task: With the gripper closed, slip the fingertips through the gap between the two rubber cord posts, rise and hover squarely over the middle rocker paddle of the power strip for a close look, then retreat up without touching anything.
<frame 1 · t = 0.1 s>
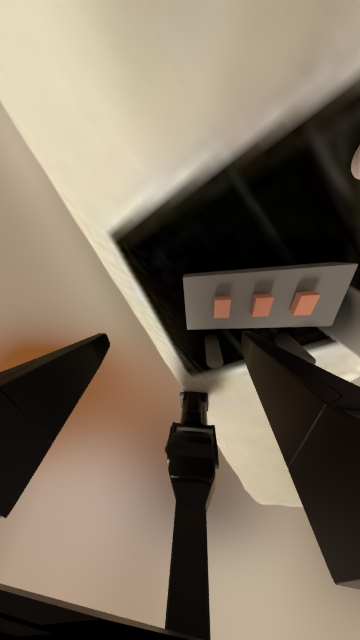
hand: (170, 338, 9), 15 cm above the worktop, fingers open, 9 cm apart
cord post 1: (281, 338, 24), on the worktop
power strip: (251, 295, 22), on the worktop
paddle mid: (261, 305, 18), point 4 cm above the worktop, hinge at -10.0°
cord post 2: (211, 339, 26), on the worktop
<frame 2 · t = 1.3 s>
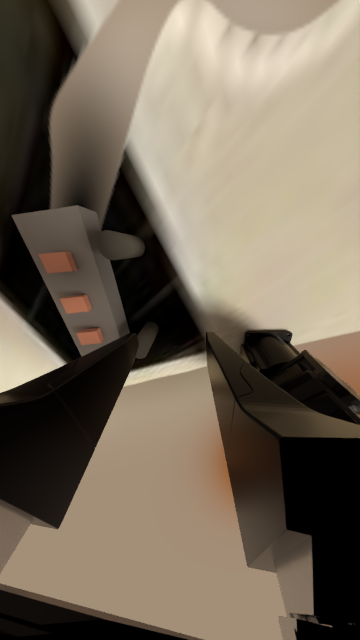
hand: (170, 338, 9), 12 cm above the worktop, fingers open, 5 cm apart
cord post 1: (135, 246, 18), on the worktop
power strip: (95, 295, 22), on the worktop
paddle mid: (76, 303, 18), point 4 cm above the worktop, hinge at -10.0°
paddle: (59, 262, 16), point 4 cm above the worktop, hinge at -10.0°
cord post 2: (151, 328, 23), on the worktop
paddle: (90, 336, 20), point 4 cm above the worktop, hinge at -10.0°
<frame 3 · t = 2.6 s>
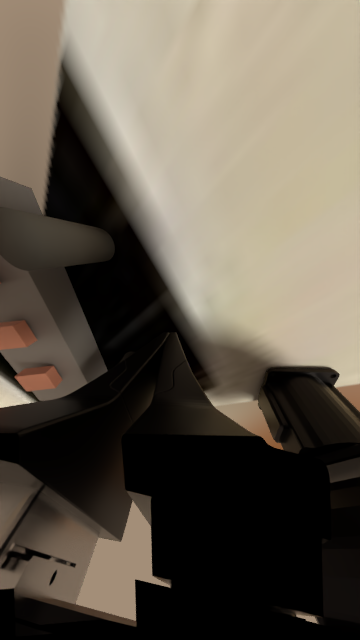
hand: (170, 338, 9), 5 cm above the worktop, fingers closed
cord post 1: (100, 245, 11), on the worktop
power strip: (50, 315, 15), on the worktop
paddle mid: (8, 335, 12), point 4 cm above the worktop, hinge at -10.0°
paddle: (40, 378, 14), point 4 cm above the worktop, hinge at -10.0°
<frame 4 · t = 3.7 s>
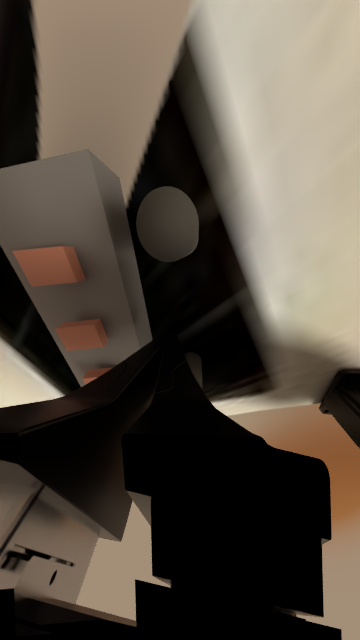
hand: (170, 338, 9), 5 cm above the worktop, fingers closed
cord post 1: (182, 238, 11), on the worktop
power strip: (109, 314, 14), on the worktop
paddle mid: (83, 334, 11), point 4 cm above the worktop, hinge at -10.0°
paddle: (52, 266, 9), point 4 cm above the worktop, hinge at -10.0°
cord post 2: (190, 360, 16), on the worktop
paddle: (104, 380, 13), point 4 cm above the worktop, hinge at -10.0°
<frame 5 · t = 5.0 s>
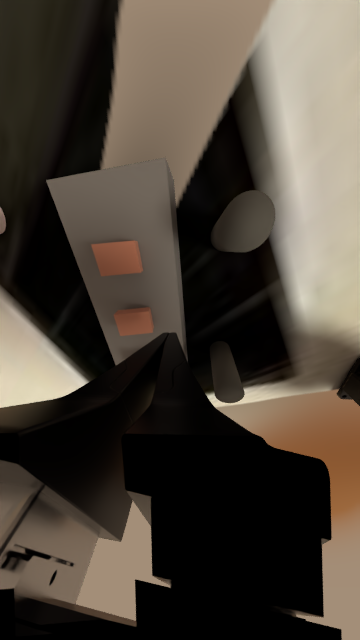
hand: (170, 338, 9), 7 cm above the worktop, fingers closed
cord post 1: (224, 235, 12), on the worktop
power strip: (147, 305, 16), on the worktop
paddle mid: (135, 321, 12), point 4 cm above the worktop, hinge at -10.0°
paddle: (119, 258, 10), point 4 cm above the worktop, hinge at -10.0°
cord post 2: (219, 349, 17), on the worktop
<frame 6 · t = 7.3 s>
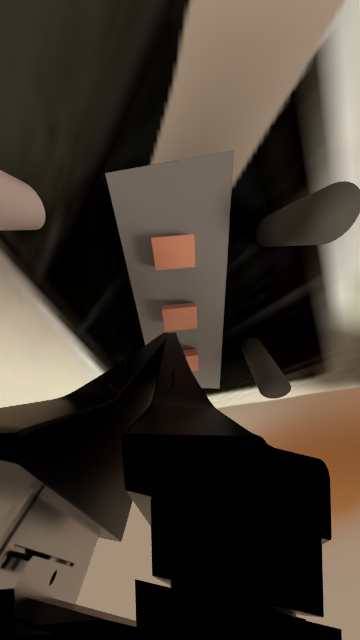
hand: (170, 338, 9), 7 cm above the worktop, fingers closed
cord post 1: (270, 230, 12), on the worktop
power strip: (182, 302, 16), on the worktop
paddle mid: (179, 316, 12), point 4 cm above the worktop, hinge at -10.0°
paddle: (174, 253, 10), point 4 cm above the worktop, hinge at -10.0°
cord post 2: (250, 345, 17), on the worktop
smoothie: (27, 207, 13), on the worktop
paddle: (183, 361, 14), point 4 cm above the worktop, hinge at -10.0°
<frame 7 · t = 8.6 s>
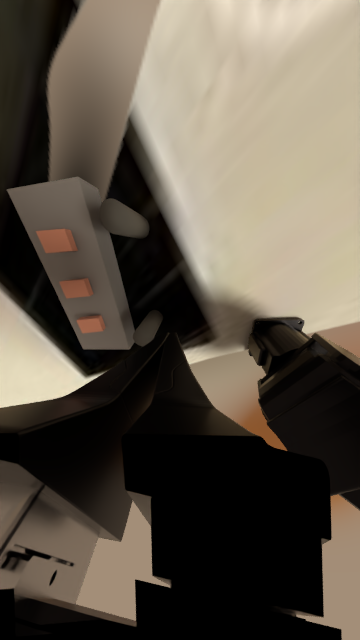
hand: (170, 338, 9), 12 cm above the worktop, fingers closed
cord post 1: (139, 227, 17), on the worktop
power strip: (96, 281, 21), on the worktop
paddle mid: (77, 288, 17), point 4 cm above the worktop, hinge at -10.0°
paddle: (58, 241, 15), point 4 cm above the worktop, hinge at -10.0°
cord post 2: (155, 317, 22), on the worktop
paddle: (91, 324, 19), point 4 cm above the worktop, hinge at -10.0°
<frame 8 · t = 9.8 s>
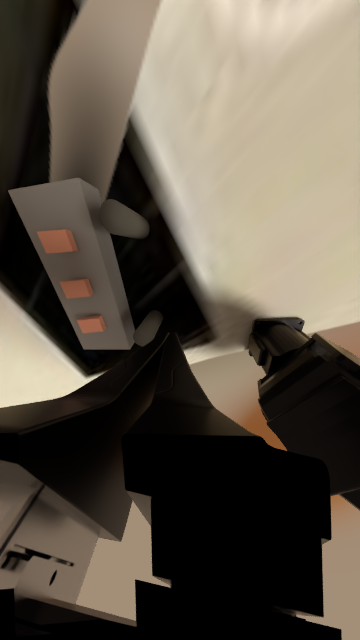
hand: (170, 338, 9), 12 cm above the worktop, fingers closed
cord post 1: (139, 227, 17), on the worktop
power strip: (96, 282, 21), on the worktop
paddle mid: (77, 288, 17), point 4 cm above the worktop, hinge at -10.0°
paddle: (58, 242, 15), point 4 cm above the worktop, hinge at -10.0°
cord post 2: (155, 317, 22), on the worktop
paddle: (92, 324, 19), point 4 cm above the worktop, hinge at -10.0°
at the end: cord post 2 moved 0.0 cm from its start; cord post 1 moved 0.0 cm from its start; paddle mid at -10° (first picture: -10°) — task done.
